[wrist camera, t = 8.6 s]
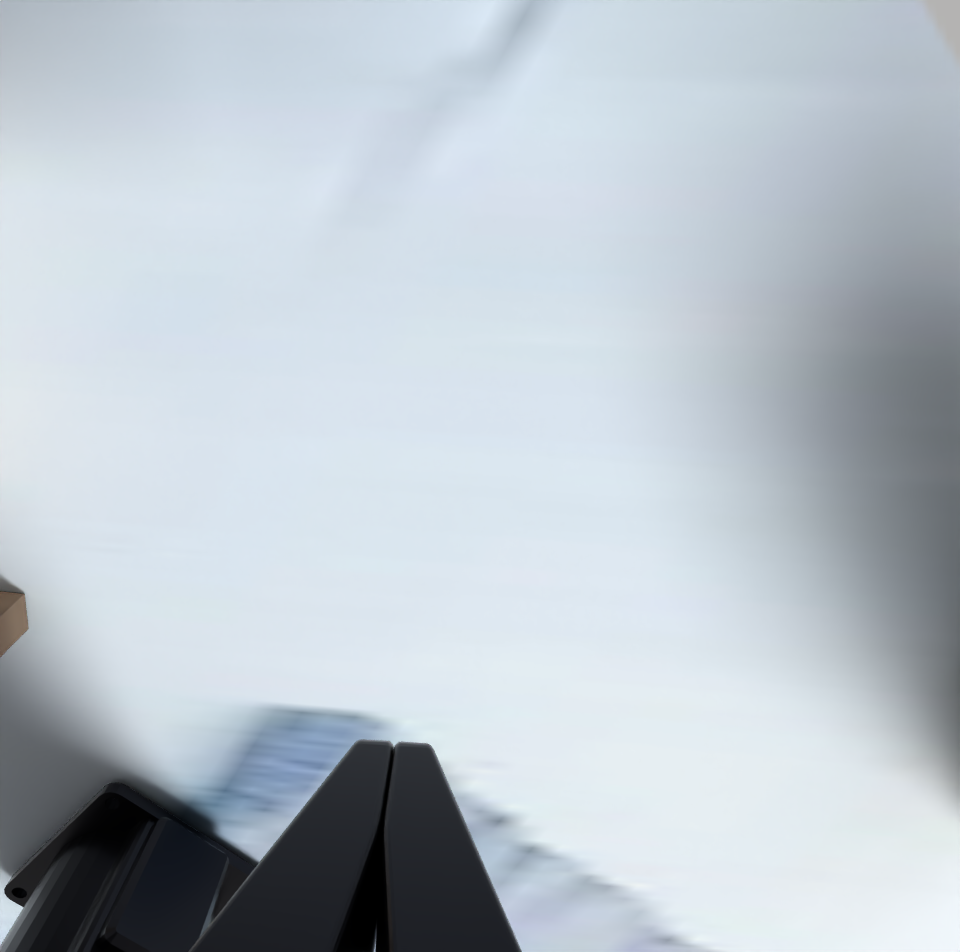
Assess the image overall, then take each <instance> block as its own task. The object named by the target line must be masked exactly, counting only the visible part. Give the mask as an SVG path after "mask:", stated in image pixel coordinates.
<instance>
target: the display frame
mask: <svg viewBox="0 0 960 952" xmlns="http://www.w3.org/2000/svg"><path fill="white" fill-rule="evenodd" d="M27 630H28V620H27V611H26V602H25V594H21V593H11V592H2V591H0V657H1V656H2V655H3V654H4V653H5V652H6V651H7V650H8V649H9V648H10V647H11V646H12V645H13V644H14V643H15V642H16V641H17V640H18V639H19V638H20V637H21V636H22V635H23V634H24V633H25V632H26V631H27Z"/></svg>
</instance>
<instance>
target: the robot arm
mask: <svg viewBox="0 0 960 952" xmlns="http://www.w3.org/2000/svg"><path fill="white" fill-rule="evenodd" d="M113 798H114V799H113ZM115 799H117V800H115ZM4 891H5V894H6V896H7V897H8V898H9V899H10V900H12V901H13V902H15V903H17V904H19V905H21V906H22V907H24V908H23V910H22V911H21V913H20V915H19V916H18V918H17V919H16V921H15V923H14V924H13V926H12V928H11V929H10V931H9V932H8V934H7V936H6V937H5V939H4V941H3V942H2V944H1V946H0V952H374V949H375V942H376V951H375V952H522V951H521V949H520V946H519V944H518V942H517V939H516V937H515V935H514V933H513V930H512V928H511V926H510V923H509V921H508V919H507V917H506V914H505V912H504V910H503V907H502V905H501V903H500V900H499V898H498V896H497V894H496V891H495V889H494V887H493V884H492V882H491V880H490V878H489V875H488V873H487V871H486V868H485V866H484V864H483V861H482V859H481V857H480V855H479V852H478V850H477V848H476V845H475V843H474V841H473V839H472V836H471V834H470V832H469V829H468V827H467V825H466V822H465V820H464V818H463V816H462V813H461V811H460V809H459V806H458V804H457V802H456V800H455V797H454V795H453V793H452V790H451V788H450V786H449V783H448V781H447V779H446V777H445V774H444V772H443V770H442V767H441V765H440V763H439V761H438V758H437V756H436V754H435V751H434V749H433V748H432V746H431V745H429V744H427V743H414V742H398V743H397V744H396V745H395V747H393V744H392V743H391V742H390V741H382V740H365V739H361V740H358V741H357V742H355V743H354V745H353V746H352V747H351V748H350V749H349V751H348V752H347V753H346V754H345V756H344V757H343V758H342V759H341V761H340V762H339V763H338V764H337V766H336V767H335V768H334V769H333V771H332V772H331V773H330V774H329V776H328V777H327V778H326V779H325V781H324V782H323V783H322V785H321V786H320V787H319V788H318V790H317V791H316V792H315V793H314V795H313V796H312V797H311V798H310V800H309V801H308V802H307V803H306V805H305V806H304V807H303V808H302V810H301V811H300V812H299V813H298V815H297V816H296V817H295V818H294V820H293V821H292V822H291V823H290V825H289V826H288V827H287V828H286V830H285V831H284V832H283V833H282V835H281V836H280V837H279V838H278V840H277V841H276V842H275V843H274V845H273V846H272V847H271V849H270V850H269V851H268V852H267V854H266V855H265V856H264V857H263V859H262V860H261V861H260V862H259V864H258V865H257V866H256V867H254V866H252V865H251V864H249V863H247V862H246V861H244V860H243V859H241V858H240V857H238V856H236V855H235V854H233V853H232V852H230V851H228V850H227V849H225V848H224V847H222V846H221V845H219V844H217V843H216V842H214V841H213V840H211V839H210V838H208V837H206V836H205V835H203V834H202V833H200V832H199V831H197V830H195V829H194V828H192V827H191V826H189V825H188V824H186V823H184V822H183V821H181V820H180V819H178V818H177V817H175V816H173V815H172V814H170V813H169V812H167V811H166V810H164V809H162V808H161V807H159V806H158V805H156V804H155V803H153V802H151V801H150V800H148V799H147V798H145V797H143V796H142V795H140V794H139V793H137V792H136V791H134V790H132V789H131V788H129V787H128V786H126V785H124V784H121V783H111V784H108V785H107V786H105V787H104V788H103V789H102V790H101V791H100V792H99V793H98V794H97V795H96V796H95V797H94V798H93V799H92V800H91V801H89V802H88V803H87V804H86V805H85V806H84V807H83V808H82V809H81V810H80V811H79V812H78V813H77V814H76V815H75V816H74V817H73V818H72V819H71V820H70V821H69V822H68V823H67V824H66V825H65V826H64V827H63V828H62V829H60V830H59V831H58V832H57V833H56V834H55V835H54V836H53V837H52V838H51V839H50V840H49V841H48V842H47V843H46V844H45V845H44V846H43V847H42V848H41V849H40V850H39V851H38V852H37V853H36V854H35V855H34V856H33V857H32V858H30V859H29V860H28V861H27V862H26V863H25V864H24V865H23V866H22V867H21V868H20V869H19V870H18V871H17V872H16V873H15V874H14V875H13V876H12V878H11V879H10V881H9V882H8V884H7V885H6V887H5V889H4Z"/></svg>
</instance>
